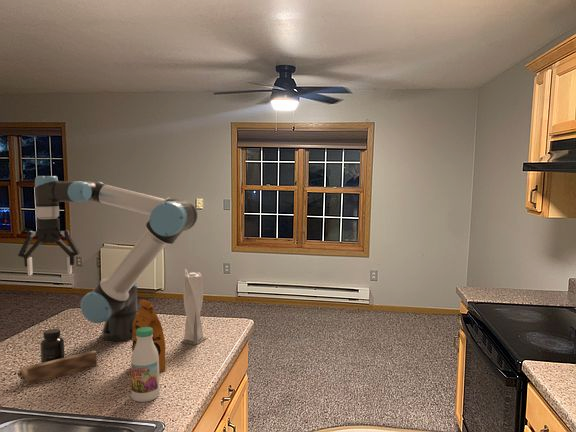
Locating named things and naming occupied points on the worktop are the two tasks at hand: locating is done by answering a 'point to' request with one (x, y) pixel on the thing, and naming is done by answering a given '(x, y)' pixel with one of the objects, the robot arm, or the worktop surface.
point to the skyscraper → (193, 308)
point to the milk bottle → (144, 367)
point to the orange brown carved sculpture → (150, 319)
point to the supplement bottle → (52, 346)
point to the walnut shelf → (59, 367)
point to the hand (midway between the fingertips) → (50, 274)
